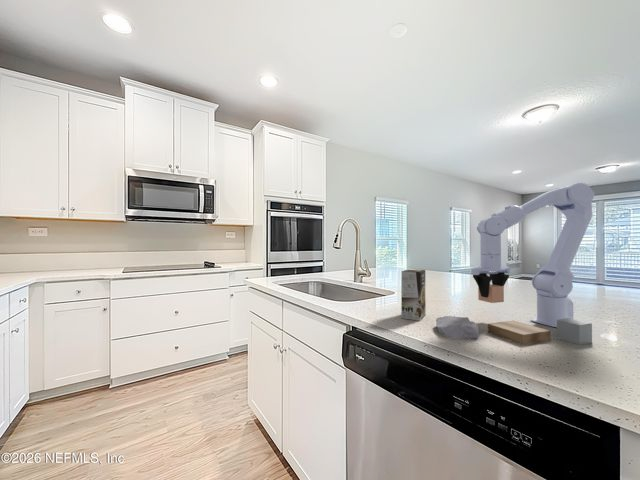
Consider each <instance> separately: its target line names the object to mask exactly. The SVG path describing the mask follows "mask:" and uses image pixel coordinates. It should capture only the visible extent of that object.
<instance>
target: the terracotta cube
mask: <svg viewBox="0 0 640 480" xmlns="http://www.w3.org/2000/svg"><path fill="white" fill-rule="evenodd" d="M504 287H505V285H504V286H499V285H492V283H490V286H489V295H488V297H482V296H481V294H480V291H479V287H478V288H477V291H478V293H477V294H478V295H477V297H478V298H477V299H478V301H480V302H481V301H483V302H485V303H491V304H496V303H504V302H505V300H504V299H505V298H504V297H505V291H504V289H505V288H504Z"/></svg>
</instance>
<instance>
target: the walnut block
mask: <svg viewBox="0 0 640 480" xmlns="http://www.w3.org/2000/svg"><path fill="white" fill-rule="evenodd" d="M487 334H490V335H493V336H495V337H496V336H497V337H498V338H499V337H500V338H501V339H504V340H506V341H507V340H508V341H510V342H514V343H517V344H519V345H522V346H527V345H531V344H536V343H537V344H538V343H544V342H551V330H550V329H546V328H543V327H542V328H541V327H538V326H535V325H531V324H526V323H525V322H521V321H516V320H506V321H499V322H490V323H487Z"/></svg>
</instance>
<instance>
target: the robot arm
mask: <svg viewBox="0 0 640 480" xmlns="http://www.w3.org/2000/svg"><path fill="white" fill-rule="evenodd" d="M595 195H596V193H595V192H594V190H593V189H592V188H591V187H590V186H589V184H586V183H584V182H576V183H573V184H570V185H567V186H562V187H557V188H554V189H552V190H549V191H546V192H544V193H542V194H540V195H538V196H537V197H534V198H533V199H531V200H529V201H527V202H526V203H523V204H521V205H520V206H519V205H515V204H514V205H507V206H505V207H504V209H503V210H501V211H499V212H496V213H495V212H494V213H491V214H490V216H491V217H488V218H487V217H486V218H484V219H481V220H480V221H479V223H478V225H477V226H476V230H477V232H478V233H479V235H480V236H479V237H480V266H479V267H475V268H471V271H470V275H472V278H473V279H474V280H475V282H476V284H477V286H478V287H479V291H480V294H481V296H482V297H488V295H489V286H490V284H492V285H499V286H504V287H505V284H506V283H507V281H508V279H510V274H511V273H510V272H511V270H510V268H511V267H506V266H503V267H502V236H501V235H502V234H503V233H504V231H505V230H506V229H509V228H511V227H514V226H516V225H517V224H519V223H521V222H523V221H524V220H525V218H526V215H528V214H530V213H532V212H535V211H537V210H539V209H542V208H544V207H546V206H551V205H552V206H553V207H554V208H555V209H557V210H558V211H559V212H560V213H562V214H563V215H564V216H565V217H566V218H565V222H564V224H563V226H562V229H561V231H560V234H559V235H558V238H557V241H556V243H555V246H554V247H553V250H552V252H551V254H550V256H549V259H548V261H547V263H545V264H544V265H543V266H541V267H540V268H539V270H538V272H537V273H536V274H535V275H533V277H532V279H531V284H532V287H533V288H534V289H535V291H536V318H530V322H534V323H537V324H542V325H545V326H549V327H554V328H557V320H560V319H567V318H570V319H575V318H574V302H573V301H572V299H571V298H570V297H569V296H568V295H569V294H570V293H572V291H573V287H574V286H573V280H574V277H575V275H574V274H573V272H572V271H571V269H570V268H571V267H572V264H573V262H574V260H575V257H576V255H577V253H578V251H579V248H580V245H581V243H582V240H583V239H584V237H585V234H586V231H587V230H588V227H589V226H590V225H589V224H590V222H591V220H592V217H593V206H592V205H593V204H592V203H593V199H594V198H595Z"/></svg>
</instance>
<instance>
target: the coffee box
mask: <svg viewBox="0 0 640 480" xmlns="http://www.w3.org/2000/svg"><path fill="white" fill-rule="evenodd" d="M400 288H401V295H400V297H401V299H400V300H401V302H400V303H401V309H400V310H401V315H400V316H401V319H405V320H409V321H410V320H411V321H417V322H419V321H422V319H423V318H424V317H425V316H426V312H427V311H426V310H427V309H426V307H427V306H426V305H427V304H426V303H427V302H426V270H425V269H405V270H401V287H400Z"/></svg>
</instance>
